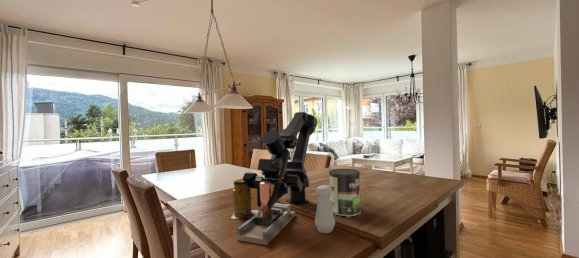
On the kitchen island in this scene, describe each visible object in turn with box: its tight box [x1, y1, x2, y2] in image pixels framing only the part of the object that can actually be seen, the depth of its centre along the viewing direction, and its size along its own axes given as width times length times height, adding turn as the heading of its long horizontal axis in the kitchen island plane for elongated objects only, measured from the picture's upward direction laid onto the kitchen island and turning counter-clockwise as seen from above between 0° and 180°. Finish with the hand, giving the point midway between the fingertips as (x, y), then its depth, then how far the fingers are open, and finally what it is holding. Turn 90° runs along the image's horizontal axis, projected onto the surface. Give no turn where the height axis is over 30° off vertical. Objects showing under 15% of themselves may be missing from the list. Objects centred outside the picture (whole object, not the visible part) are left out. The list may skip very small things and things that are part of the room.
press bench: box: [236, 202, 296, 246], centre depth 77 cm, size 21×9×4 cm, turn 157°
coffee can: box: [328, 168, 361, 216], centre depth 87 cm, size 10×10×14 cm
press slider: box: [255, 181, 282, 226], centre depth 77 cm, size 6×6×12 cm
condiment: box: [230, 178, 260, 220], centre depth 88 cm, size 7×8×12 cm
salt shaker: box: [314, 184, 336, 234], centre depth 73 cm, size 6×6×13 cm
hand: (263, 207), depth 74 cm, fingers closed on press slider, 3 cm apart
